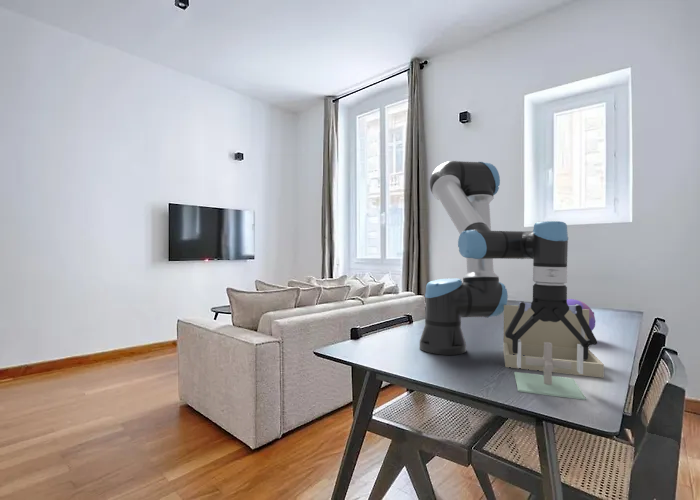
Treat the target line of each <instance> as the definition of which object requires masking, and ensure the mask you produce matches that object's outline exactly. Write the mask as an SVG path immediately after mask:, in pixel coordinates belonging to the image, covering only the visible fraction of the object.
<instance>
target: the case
mask: <svg viewBox="0 0 700 500" xmlns="http://www.w3.org/2000/svg"><path fill="white" fill-rule="evenodd" d="M518 308H519V305H514V304H513V305H512V304H506V305H504V311H503V341H502V342H503V346H502V347H503V351H502V352H503V353H502V354H503V359H504V365H505V366H504V367H505V368H509V367H511V369H519V368H518V367H517V353H513V350H512V339H510V338H507V337H506V336H505V332H506V330H507V328H508V327H509V325H510V323H511V321H512V320H513V318H514V316H515V314H516V313H517V311H518ZM582 312H583V316H584V318H585V320H586V321H587V323H588V325H589V310H587V309H582ZM533 314H534V312H533V310H532V309H531V308H528V310H527V311H524V314H523V316H522V317H521V319H520V321H519V323H518V324H517V326H516V328H515V329H514V331H513V333H512V334H514V333H515V332H516V331H517V330H518V329H519V328H520V327H521V326H522V325H523V324H524V323H525V322H526V321H527V320H528V319H529V318H530V317H531V316H532V315H533ZM564 316H565V317H566V318H567V320H568V321H569V322H570V323H571V324H572V325H573V326H574V328H575V329H576V330H577V331H578V332H579V333H580V334H581V335H582V337H583V338H584V339H588V338H587V336H586V334H585V332H584V330H583V328H582V326H581V325H580V323H579V321H578V319H577V317H576V315H575V314H573V313H572V311H571V310H569V311H568V312H567V313H566V314H565V315H564ZM519 340H521V369H520V370H528V369H529V370H530V371H537V370H539V372H544V366H535V365H526V357H527V358H537V359H543V356H544V342H549V343H552V360H557V361H567V362H571V366H572V367H571V369H562V368H554V371H553V372H552V373H556V374H557V373H558V374H567V375H574V376H586V377H594V378H602V379H603V378H604V375H605V373H604V368H605V367H604V366H605V364H604V363H603V362H602V361H601V360H600V359H599V358H598V357H597V356H596V355H595V354H594V353H593V352H592V351H591V350H590V349H589V347H590V346H589V347H588V359H587V360H584V359H583V374H579V373H578V371H577V344H581V343H580V341H579V340H578V339H577V338H576V337H575V336H574V335H573V334H572V332H571V331H570V330H569V329H568V328H567V327H566V326H565V325H564V323H563V322H562V321H561V320H560V321H558V322H552V321H547V322H544V321H541V320H540V319H539V320H538V321H537V322H536V323H535V324H534V325H533V326H532V327H531V328H530V329H529V330H528V331H527V332H526V333H525V334H524V335H523V336H522V337H521V338H520V339H519ZM513 354H515V355H513ZM523 355H525V356H523Z"/></svg>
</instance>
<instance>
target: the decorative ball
mask: <svg viewBox="0 0 700 500" xmlns="http://www.w3.org/2000/svg"><path fill="white" fill-rule="evenodd" d="M567 304H568V305H575V304H578V305H580V306H581V307H582V309H587V310H589V327H590V329H591V331H592V332H593V330H594V329H595V327H596V317H595V312H594V311H593V310H592V308H591V307H590V306H589V305H587V304H586V303H585V302H583V301H581V300H578V299H573V298H567Z"/></svg>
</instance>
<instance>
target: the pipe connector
mask: <svg viewBox="0 0 700 500" xmlns="http://www.w3.org/2000/svg"><path fill="white" fill-rule="evenodd" d="M542 358H543V359H537V358H527V357H526V365H535V366H544V371H543V375H544V383H545V384H548V385H551V384H552V376H553V373H554V372H553V371H554V368H562V369H571V367H572V366H571V362H567V361H557V360H552V359H553V358H552V343H549V342H544V356H543V357H542Z"/></svg>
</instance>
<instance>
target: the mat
mask: <svg viewBox="0 0 700 500" xmlns="http://www.w3.org/2000/svg"><path fill="white" fill-rule="evenodd" d="M513 373H514V378H515V383H516V387H517V388H516V389H517V392H519V393H520V392H521V393H527V394H536V395H544V396H552V397H561V398H569V399H576V400H582V401H586V400H587V398H586V396H585V394H584V393H583V391H582V390H581V389H580V386H579V385H578V384H577V381H575V379H574V378H571V377H565V376H564V377H563V376H554V375H552V384H551V385H548V384H545V383H544V374H539V373H538V374H537V373H530V372H529V373H528V372H519V371H518V372H517V371H514V372H513Z"/></svg>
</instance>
